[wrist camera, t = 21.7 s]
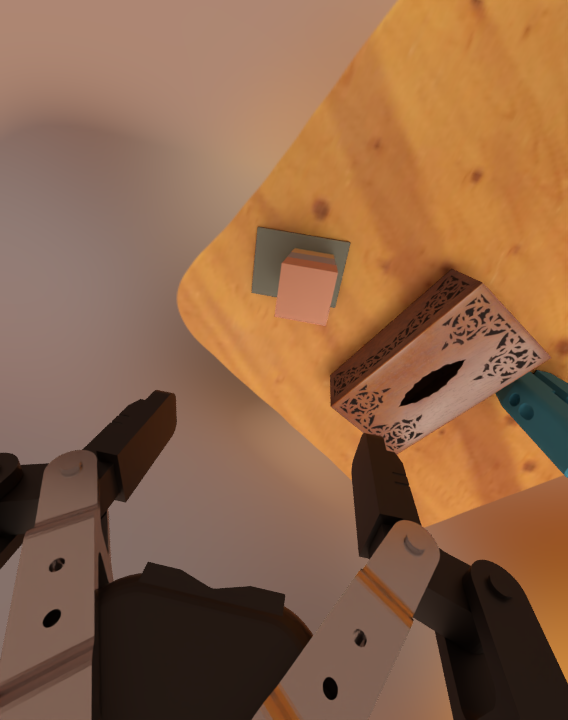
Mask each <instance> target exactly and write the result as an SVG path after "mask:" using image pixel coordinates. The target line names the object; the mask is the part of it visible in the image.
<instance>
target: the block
mask: <svg viewBox="0 0 568 720" xmlns="http://www.w3.org/2000/svg"><path fill="white" fill-rule="evenodd" d="M496 395H497V397H498V399H499V401H500V403H501V405H502V407H503V408H504V409H505V410H506V411H507V412H508V413H509V414H510V416H511V417H512V418H513V419H514V420H515V421H516V422H517V423H518V424H519V425H520V427H521V428H522V429H523V430H524V431H525V432H526V433H527V434H528V435H529V437H530V438H531V439H532V440H533V441H534V442H535V443H536V444H537V445H538V447H539V448H540V449H541V450H542V451H543V452H544V453H545V454H546V455H547V456H548V458H549V459H550V460H551V461H552V462H553V463H554V464H555V465H556V466H557V468H558V469H559V470H560V471H561V472H562V473H563V474H564V475H565V476H566V477H567V478H568V383H566V382H565V381H563V380H561V379H559V378H558V377H556V376H554V375H553V374H551V373H548V372H543V371H539V370H537V371H536V372H535V373H534V374H532V373H531V372H528V373H526V374H525V375H523V376H522V377H520V378H518V379H517V380H515V381H514V382H512V383H510V384H509V385H507V386H506V387H504V388H502V389H501V390H499V391H498V392H496Z"/></svg>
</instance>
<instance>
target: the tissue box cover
mask: <svg viewBox="0 0 568 720" xmlns="http://www.w3.org/2000/svg"><path fill="white" fill-rule="evenodd" d="M550 358H551V357H550V356H549V354H548V353H547V352H546V351H545V350H544V349H543V348H542V347H541V346H540V345H539V344H538V342H537V341H536V340H535V339H534V338H533V337H532V336H531V335H530V334H529V333H528V332H527V331H526V329H525V328H524V327H523V326H522V325H521V324H520V323H519V322H518V321H517V320H516V319H515V317H514V316H513V315H512V314H511V313H510V312H509V311H508V310H507V309H506V308H505V307H504V305H503V304H502V303H501V302H500V301H499V300H498V299H497V298H496V297H495V296H494V295H493V293H492V292H491V291H490V290H489V289H488V288H487V287H486V286H485V285H484V284H483V283H482V282H480V281H477V280H475V279H473V278H471V277H468V276H466V275H464V274H462V273H460V272H457V271H455V270H453V269H451V270H450V271H449V272H448V273H447V274H446V275H444V276H443V277H442V278H441V279H440V280H439V281H438V282H436V283H435V284H434V285H433V286H432V287H431V288H430V289H428V290H427V291H426V292H425V293H424V294H423V295H422V296H420V297H419V298H418V299H417V300H416V301H415V302H414V303H412V304H411V305H410V306H409V307H408V308H407V309H406V310H405V311H403V312H402V313H401V314H400V315H399V316H398V317H397V318H395V319H394V320H393V321H392V322H391V323H390V324H389V325H387V326H386V327H385V328H384V329H383V330H382V331H381V332H379V333H378V334H377V335H376V336H375V337H374V338H373V339H371V340H370V341H369V342H368V343H367V344H366V345H365V346H363V347H362V348H361V349H360V350H359V351H358V352H357V353H355V354H354V355H353V356H352V357H351V358H350V359H349V360H347V361H346V362H345V363H344V364H343V365H342V366H341V367H339V368H338V369H337V370H336V371H335V372H334V373H333V374H331V375H330V394H331V407H332V408H333V409H335V410H336V411H337V412H338V413H340V414H341V415H342V416H343V417H344V418H346V419H347V420H348V421H349V422H351V423H352V424H353V425H354V426H356V427H357V428H358V429H359V430H361V431H362V432H363V433H368V434H373V435H378V436H382V437H383V438H384V442H385V446H386V450H387V451H392V452H395V454H396V455H397V454H398V453H400V452H402V451H403V450H405V449H406V448H408V447H410V446H411V445H413V444H414V443H416V442H418V441H419V440H421V439H422V438H424V437H426V436H427V435H429V434H430V433H432V432H434V431H435V430H437V429H438V428H440V427H442V426H443V425H445V424H446V423H448V422H450V421H451V420H453V419H454V418H456V417H458V416H459V415H461V414H462V413H464V412H466V411H467V410H469V409H470V408H472V407H474V406H475V405H477V404H478V403H480V402H482V401H483V400H485V399H486V398H488V397H490V396H491V395H493V394H494V393H496V392H498V391H499V390H501V389H502V388H504V387H506V386H507V385H509V384H510V383H512V382H514V381H515V380H517V379H518V378H520V377H522V376H523V375H525V374H526V373H528V372H530V371H531V370H533V369H534V368H536V367H538V366H539V365H541V364H542V363H544V362H546V361H547V360H549V359H550Z"/></svg>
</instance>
